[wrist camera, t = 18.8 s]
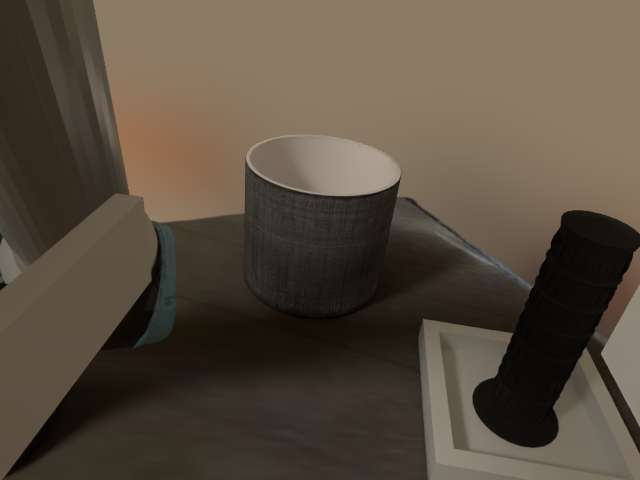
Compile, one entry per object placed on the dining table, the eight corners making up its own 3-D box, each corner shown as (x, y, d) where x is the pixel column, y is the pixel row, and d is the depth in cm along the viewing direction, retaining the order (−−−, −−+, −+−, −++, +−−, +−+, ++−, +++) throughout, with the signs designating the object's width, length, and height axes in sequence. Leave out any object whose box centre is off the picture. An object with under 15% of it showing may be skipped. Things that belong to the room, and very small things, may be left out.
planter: (256, 328, 66) (261, 199, 55) (234, 244, 84) (235, 134, 73) (400, 311, 72) (429, 192, 62) (351, 236, 90) (367, 134, 80)
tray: (428, 483, 49) (435, 462, 47) (417, 337, 67) (423, 318, 66) (648, 523, 47) (664, 504, 46) (575, 363, 66) (585, 345, 64)
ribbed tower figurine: (574, 450, 53) (538, 381, 61) (695, 252, 39) (628, 198, 48) (486, 444, 52) (463, 375, 61) (578, 242, 39) (531, 189, 47)
